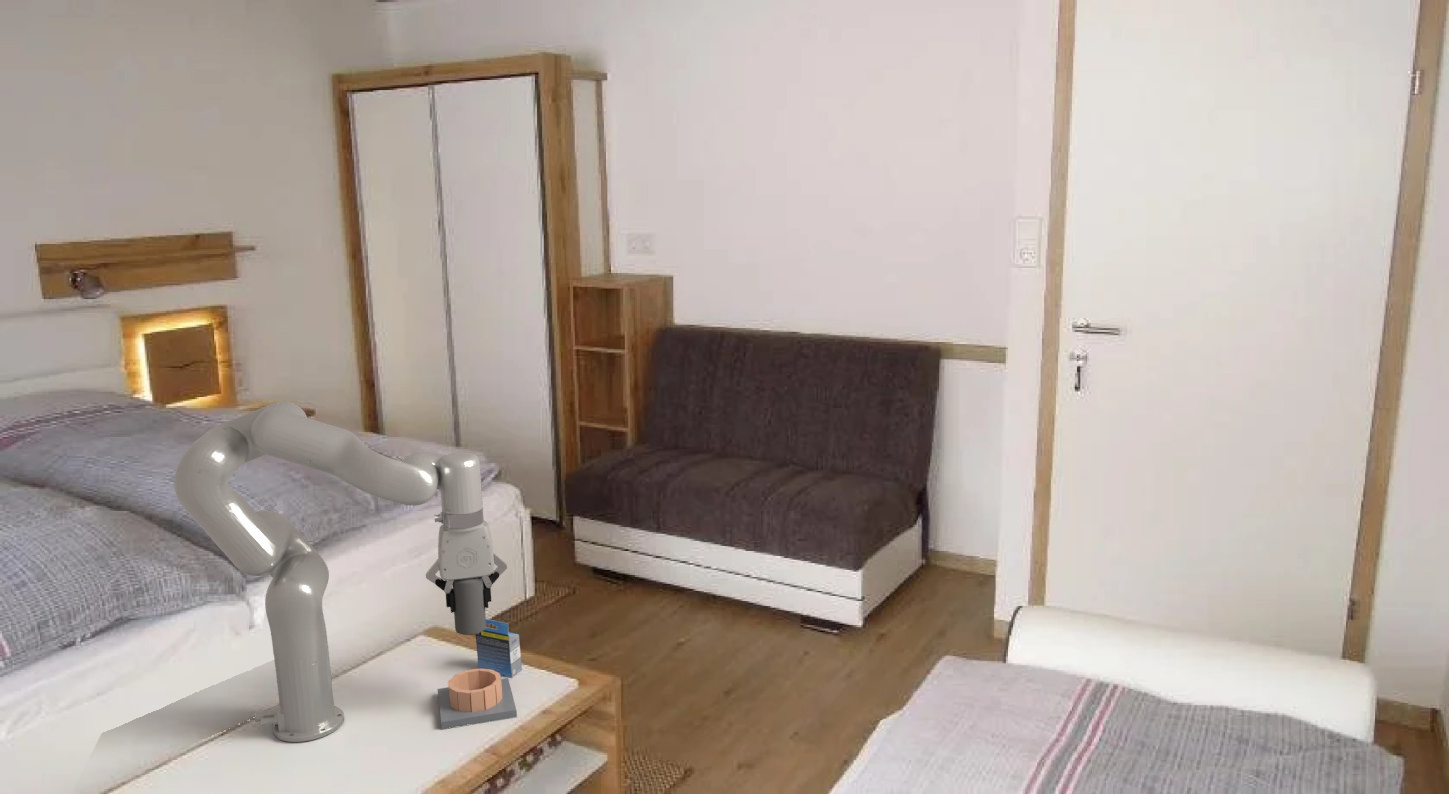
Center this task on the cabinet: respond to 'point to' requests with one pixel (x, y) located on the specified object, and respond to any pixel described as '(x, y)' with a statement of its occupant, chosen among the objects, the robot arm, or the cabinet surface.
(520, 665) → the label tape box
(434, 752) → the cabinet surface
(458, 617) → the bottle
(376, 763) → the cabinet surface
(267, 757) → the cabinet surface
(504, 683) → the holder
